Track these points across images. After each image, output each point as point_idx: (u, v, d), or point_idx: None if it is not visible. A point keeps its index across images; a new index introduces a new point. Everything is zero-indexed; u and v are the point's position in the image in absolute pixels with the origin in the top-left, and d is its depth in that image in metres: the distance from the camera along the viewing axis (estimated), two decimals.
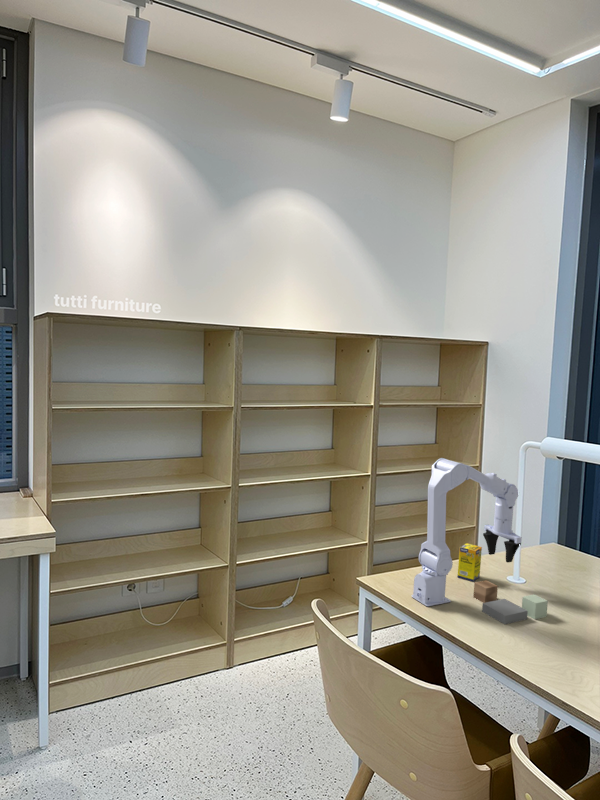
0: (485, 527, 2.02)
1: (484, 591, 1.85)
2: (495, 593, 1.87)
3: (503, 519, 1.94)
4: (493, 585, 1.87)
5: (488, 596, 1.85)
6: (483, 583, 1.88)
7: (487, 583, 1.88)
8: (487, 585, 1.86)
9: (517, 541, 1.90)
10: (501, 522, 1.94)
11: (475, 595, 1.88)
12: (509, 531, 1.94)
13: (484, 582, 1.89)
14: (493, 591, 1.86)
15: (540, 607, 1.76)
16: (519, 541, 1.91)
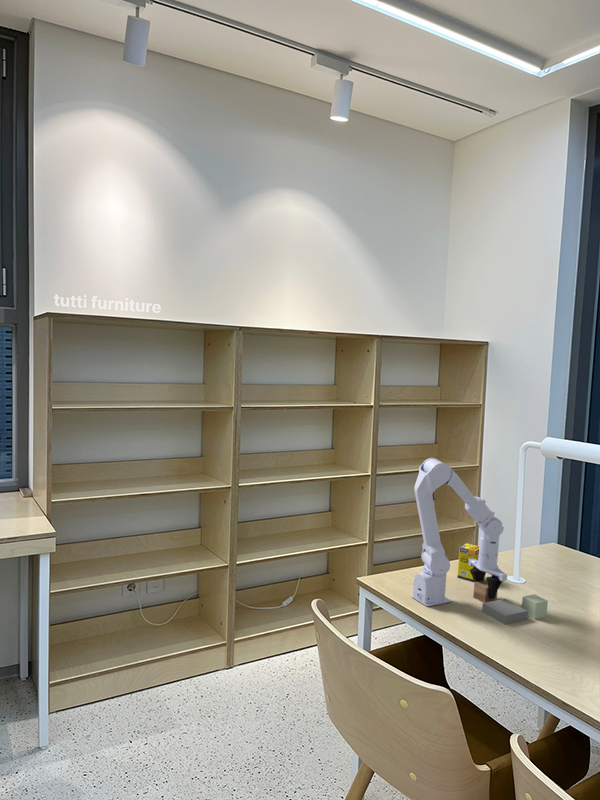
0: (470, 561, 1.93)
1: (484, 591, 1.85)
2: None
3: (485, 554, 1.85)
4: None
5: None
6: (483, 583, 1.88)
7: (487, 583, 1.88)
8: (487, 585, 1.86)
9: (502, 578, 1.81)
10: (486, 558, 1.84)
11: (475, 594, 1.88)
12: (494, 567, 1.85)
13: (484, 582, 1.89)
14: None
15: (540, 607, 1.76)
16: (504, 578, 1.81)
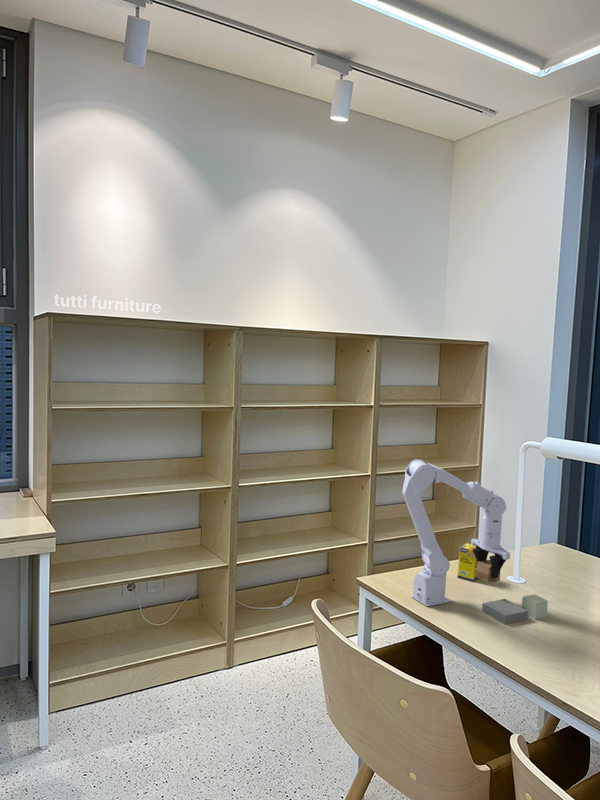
0: (472, 541, 1.91)
1: (487, 570, 1.84)
2: None
3: (487, 533, 1.83)
4: None
5: None
6: (486, 562, 1.87)
7: (490, 563, 1.87)
8: (490, 564, 1.85)
9: (506, 557, 1.79)
10: (489, 537, 1.83)
11: (478, 574, 1.87)
12: (497, 546, 1.83)
13: (486, 562, 1.88)
14: None
15: (540, 607, 1.76)
16: (508, 557, 1.80)
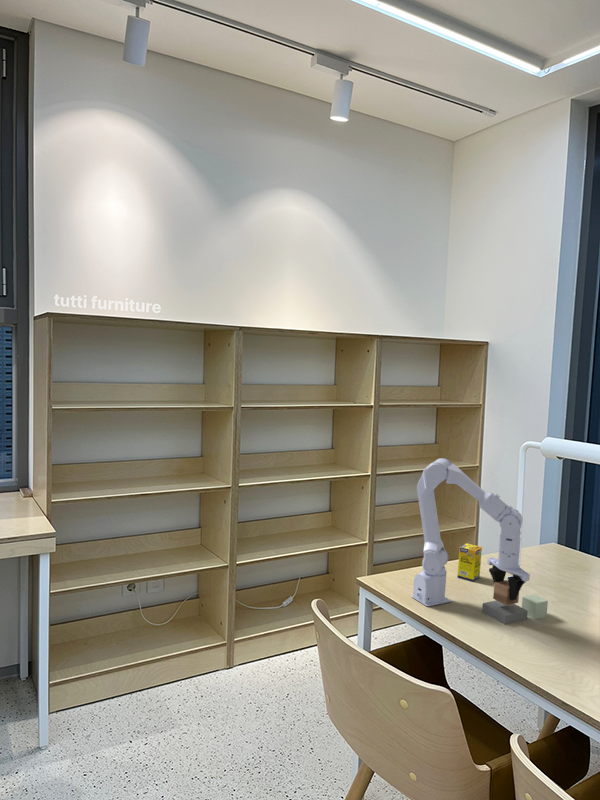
0: (489, 560, 1.81)
1: (505, 592, 1.74)
2: None
3: (501, 551, 1.74)
4: None
5: None
6: (504, 583, 1.77)
7: (508, 583, 1.77)
8: (508, 586, 1.75)
9: (525, 578, 1.69)
10: (507, 556, 1.73)
11: (495, 595, 1.77)
12: (516, 566, 1.73)
13: (504, 582, 1.77)
14: None
15: (540, 607, 1.76)
16: (527, 578, 1.70)
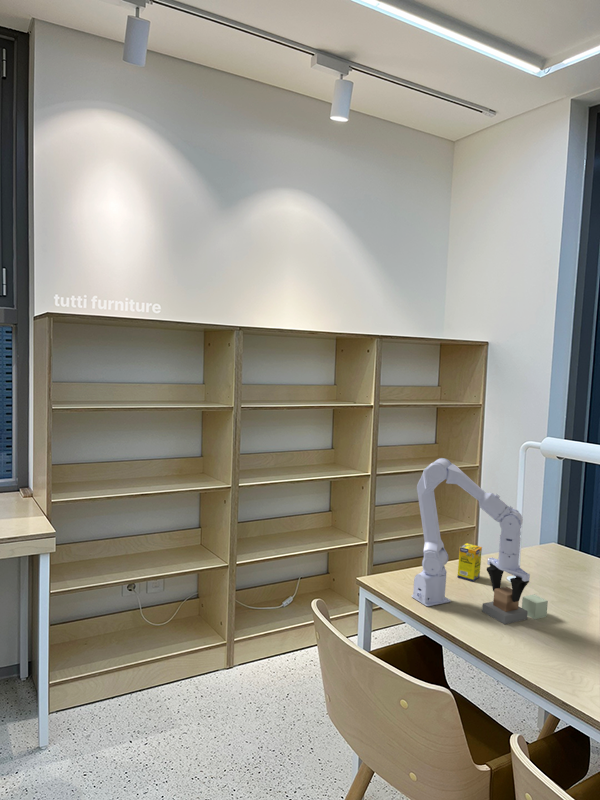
0: (489, 561, 1.81)
1: (505, 598, 1.74)
2: None
3: (501, 551, 1.74)
4: None
5: (509, 603, 1.74)
6: (504, 590, 1.77)
7: (507, 590, 1.77)
8: (508, 592, 1.75)
9: (525, 579, 1.69)
10: (507, 557, 1.73)
11: (495, 602, 1.77)
12: (516, 567, 1.73)
13: (504, 589, 1.78)
14: None
15: (540, 607, 1.76)
16: (527, 579, 1.70)
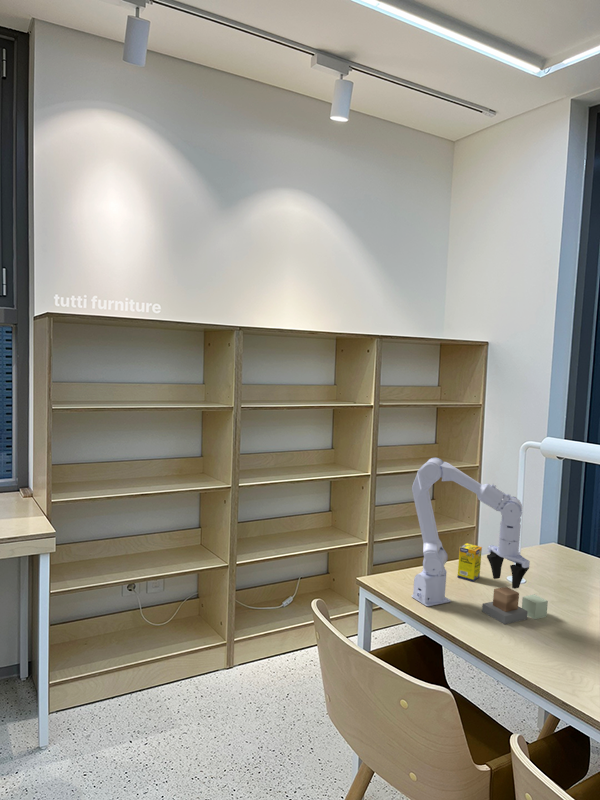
0: (489, 548, 1.82)
1: (505, 598, 1.74)
2: (516, 600, 1.75)
3: (501, 538, 1.75)
4: (514, 592, 1.76)
5: (509, 603, 1.74)
6: (503, 590, 1.77)
7: (507, 590, 1.77)
8: (508, 592, 1.75)
9: (525, 565, 1.70)
10: (507, 543, 1.74)
11: (495, 602, 1.77)
12: (516, 553, 1.74)
13: (504, 589, 1.78)
14: (514, 598, 1.75)
15: (540, 607, 1.76)
16: (527, 565, 1.70)
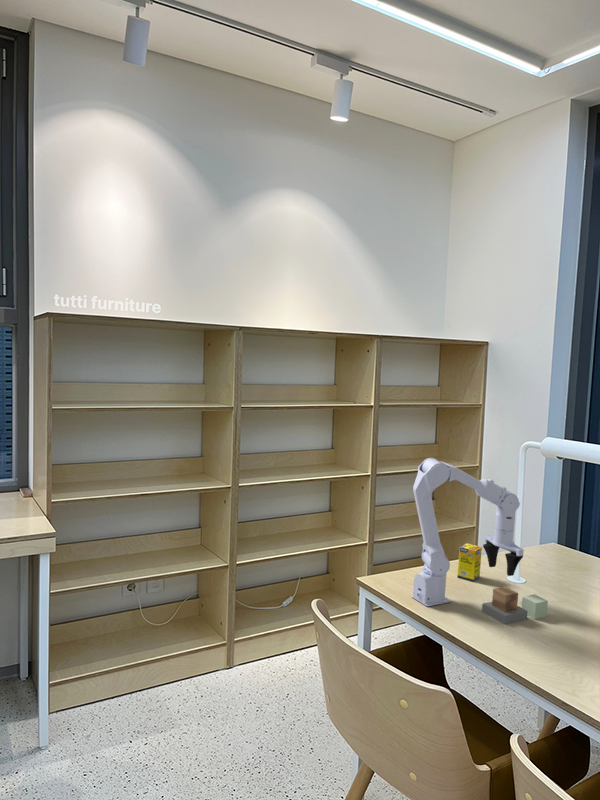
0: (485, 538, 1.92)
1: (504, 598, 1.74)
2: (515, 600, 1.75)
3: (501, 529, 1.84)
4: (513, 592, 1.76)
5: (508, 603, 1.74)
6: (502, 590, 1.77)
7: (506, 590, 1.77)
8: (507, 592, 1.75)
9: (519, 553, 1.80)
10: (502, 533, 1.84)
11: (494, 602, 1.77)
12: (510, 543, 1.84)
13: (503, 589, 1.78)
14: (513, 598, 1.75)
15: (540, 607, 1.76)
16: (521, 553, 1.80)
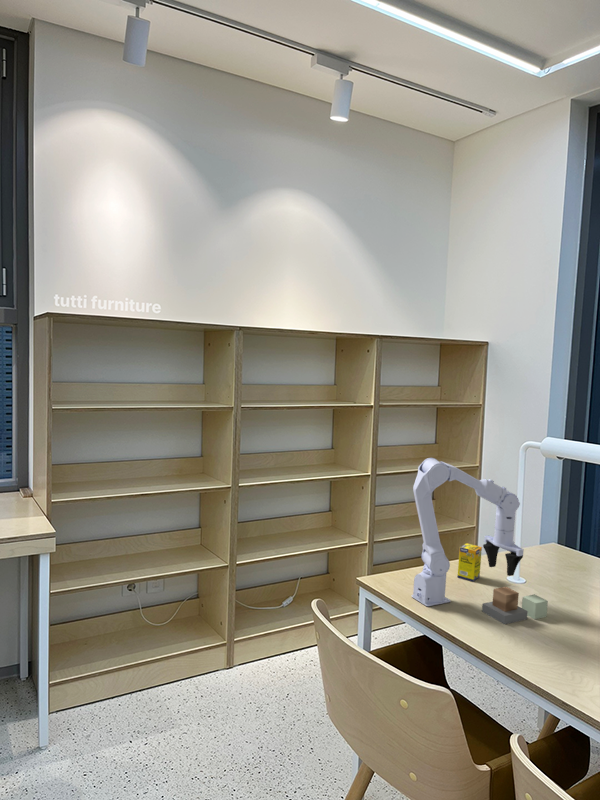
0: (485, 538, 1.92)
1: (504, 598, 1.74)
2: (516, 600, 1.75)
3: (501, 529, 1.84)
4: (514, 592, 1.76)
5: (508, 603, 1.74)
6: (503, 590, 1.77)
7: (507, 590, 1.77)
8: (507, 592, 1.75)
9: (519, 553, 1.80)
10: (502, 533, 1.84)
11: (494, 602, 1.77)
12: (510, 543, 1.84)
13: (503, 589, 1.78)
14: (513, 598, 1.75)
15: (540, 607, 1.76)
16: (521, 553, 1.80)
